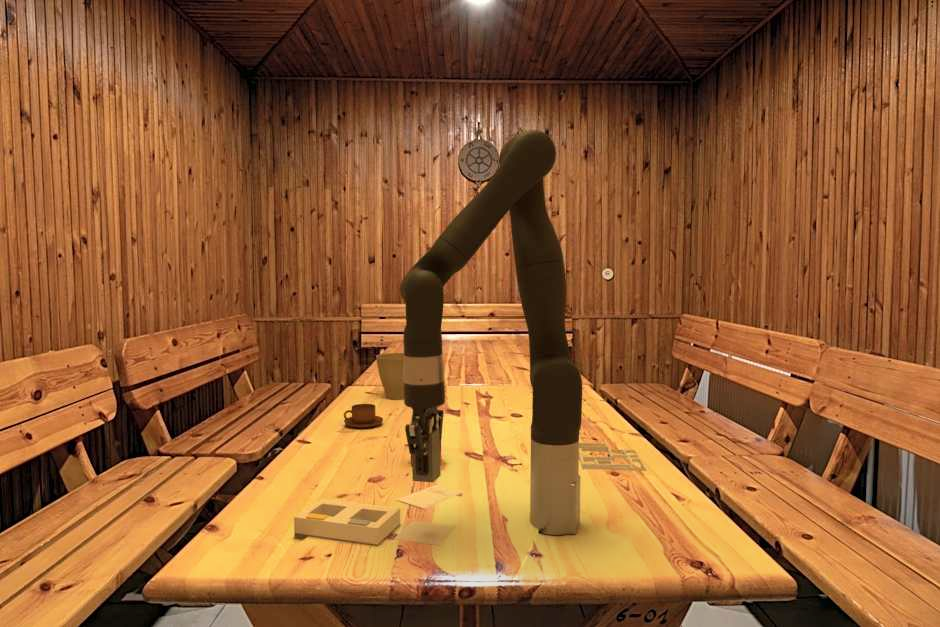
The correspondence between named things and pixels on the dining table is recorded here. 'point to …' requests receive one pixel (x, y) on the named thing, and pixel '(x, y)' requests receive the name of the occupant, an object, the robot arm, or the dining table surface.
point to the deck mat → (425, 532)
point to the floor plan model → (608, 458)
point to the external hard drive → (429, 496)
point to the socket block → (347, 522)
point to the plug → (430, 459)
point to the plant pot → (391, 374)
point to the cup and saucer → (362, 416)
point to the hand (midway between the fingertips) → (426, 470)
